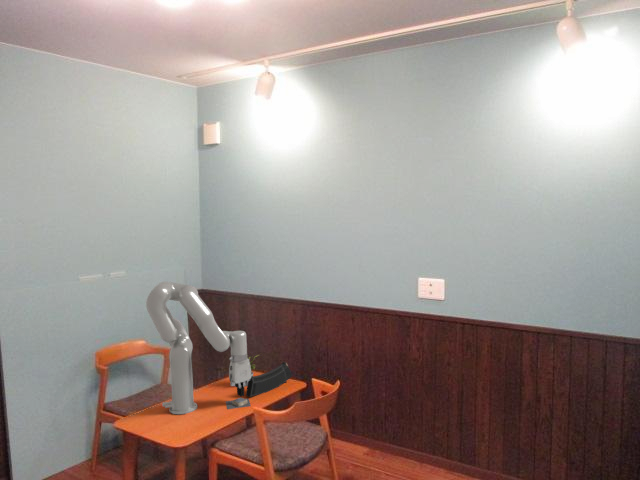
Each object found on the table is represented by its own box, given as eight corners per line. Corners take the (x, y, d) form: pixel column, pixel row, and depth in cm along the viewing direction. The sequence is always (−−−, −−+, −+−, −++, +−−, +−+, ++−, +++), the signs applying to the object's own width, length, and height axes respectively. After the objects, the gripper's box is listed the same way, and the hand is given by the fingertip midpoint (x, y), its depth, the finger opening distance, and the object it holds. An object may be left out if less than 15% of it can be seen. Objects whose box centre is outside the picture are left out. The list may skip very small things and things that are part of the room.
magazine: (245, 382, 236) (285, 350, 258) (241, 381, 238) (281, 349, 260) (254, 412, 241) (293, 378, 263) (250, 411, 243) (288, 377, 265)
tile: (238, 402, 229) (247, 399, 233) (232, 400, 233) (241, 397, 236) (238, 406, 229) (247, 403, 233) (232, 403, 233) (241, 400, 236)
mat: (227, 409, 226) (227, 409, 226) (225, 401, 236) (225, 401, 236) (251, 406, 229) (250, 406, 229) (248, 398, 239) (248, 398, 239)
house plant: (253, 377, 269) (251, 348, 268) (267, 384, 259) (265, 353, 258) (230, 384, 260) (228, 353, 259) (243, 391, 250) (242, 359, 249)
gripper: (230, 362, 224) (232, 402, 225) (256, 355, 235) (258, 392, 236) (221, 359, 229) (223, 398, 230) (247, 352, 240) (248, 389, 241)
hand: (240, 395), depth 233 cm, fingers closed
